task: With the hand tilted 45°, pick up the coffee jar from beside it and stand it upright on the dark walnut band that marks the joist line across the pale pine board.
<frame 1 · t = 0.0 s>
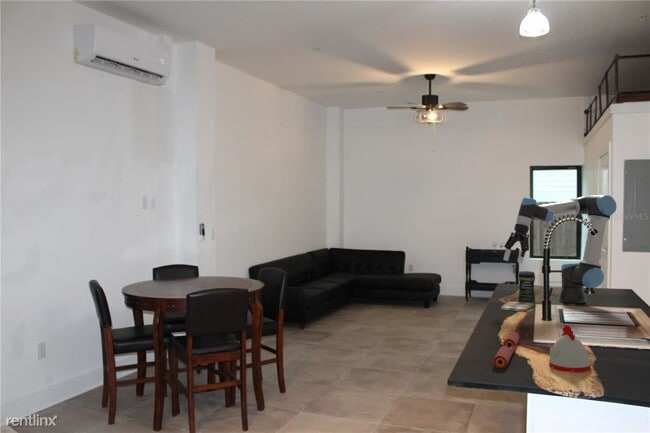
hand: (512, 261, 313), 28 cm above the countertop, fingers open, 13 cm apart
coffee jar: (527, 302, 342), on the countertop
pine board: (517, 307, 324), on the countertop
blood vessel: (507, 355, 228), on the countertop
grey hat: (569, 367, 208), on the countertop
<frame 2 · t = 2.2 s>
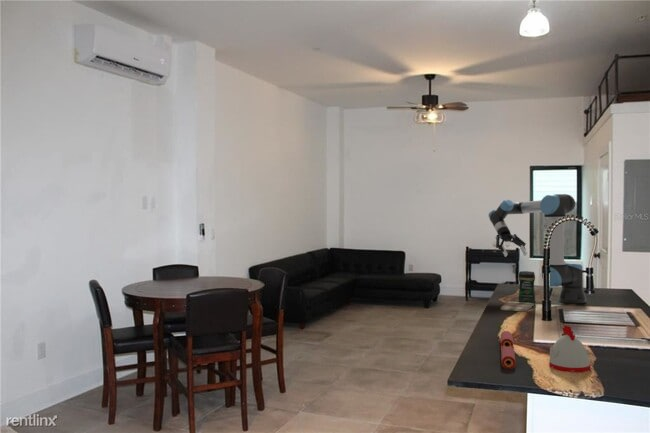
hand: (516, 255, 351), 28 cm above the countertop, fingers open, 13 cm apart
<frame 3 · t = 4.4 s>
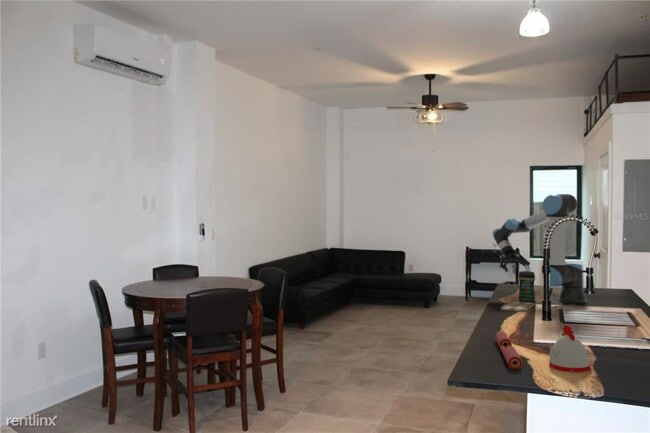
hand: (520, 274, 347), 16 cm above the countertop, fingers open, 13 cm apart
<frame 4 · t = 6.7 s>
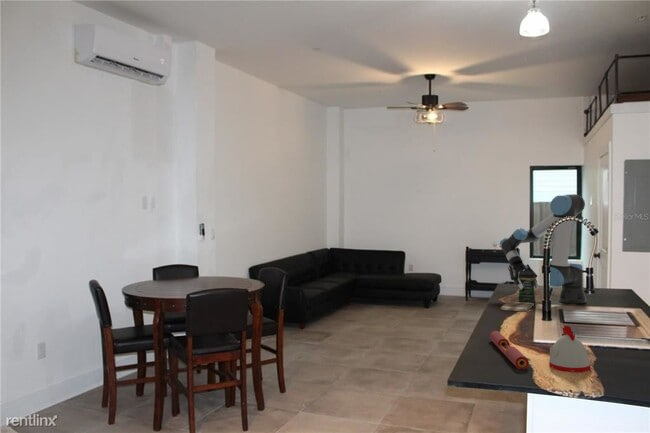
hand: (529, 287, 339), 9 cm above the countertop, fingers closed on coffee jar, 10 cm apart
coffee jar: (527, 302, 342), on the countertop, touching gripper
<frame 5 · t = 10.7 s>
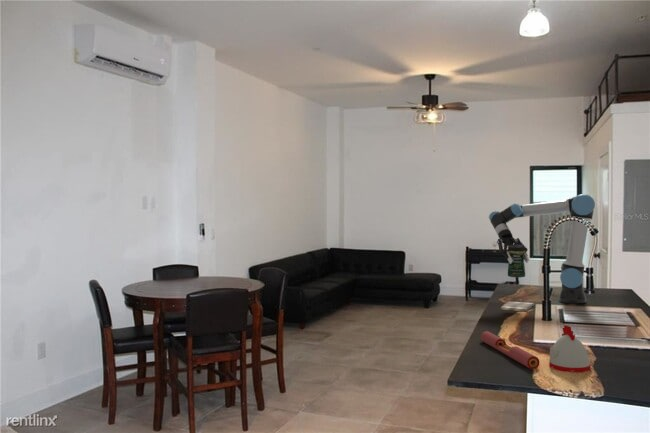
hand: (519, 261, 321), 27 cm above the countertop, fingers closed on coffee jar, 10 cm apart
coffee jar: (516, 277, 324), point 18 cm above the countertop, touching gripper
when the fingers open (12 cm above the countertop, at t = 14.6 s): coffee jar drops 2 cm, resting on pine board.
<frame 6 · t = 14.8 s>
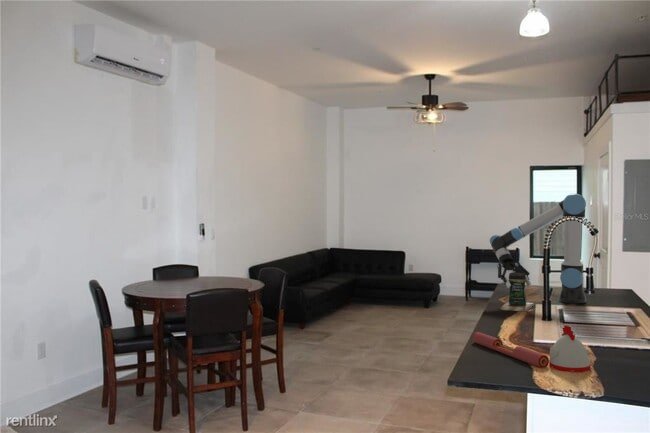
hand: (519, 286, 322), 13 cm above the countertop, fingers open, 12 cm apart
coffee jar: (517, 305, 325), point 1 cm above the countertop, touching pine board
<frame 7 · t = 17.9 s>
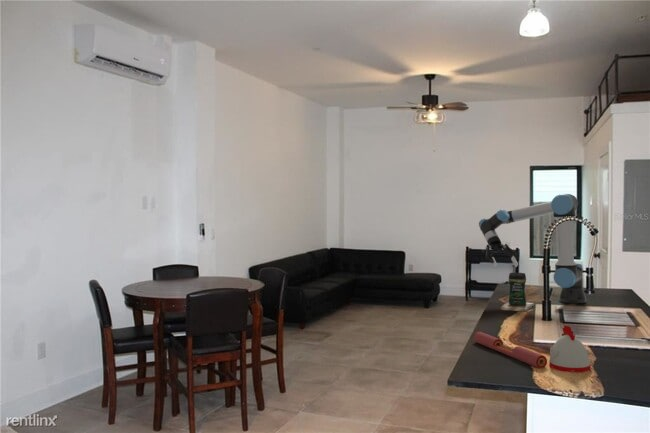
hand: (506, 266, 334), 23 cm above the countertop, fingers open, 13 cm apart
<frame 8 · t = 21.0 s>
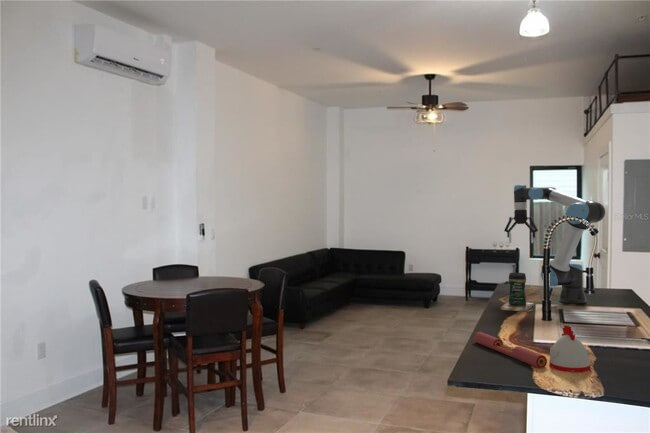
hand: (521, 242, 357), 35 cm above the countertop, fingers open, 13 cm apart
at the end: coffee jar inside the target area on the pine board (0.3 cm from its centre), point 1.4 cm above the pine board's base; coffee jar tilted 0°; the gripper is holding nothing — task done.
